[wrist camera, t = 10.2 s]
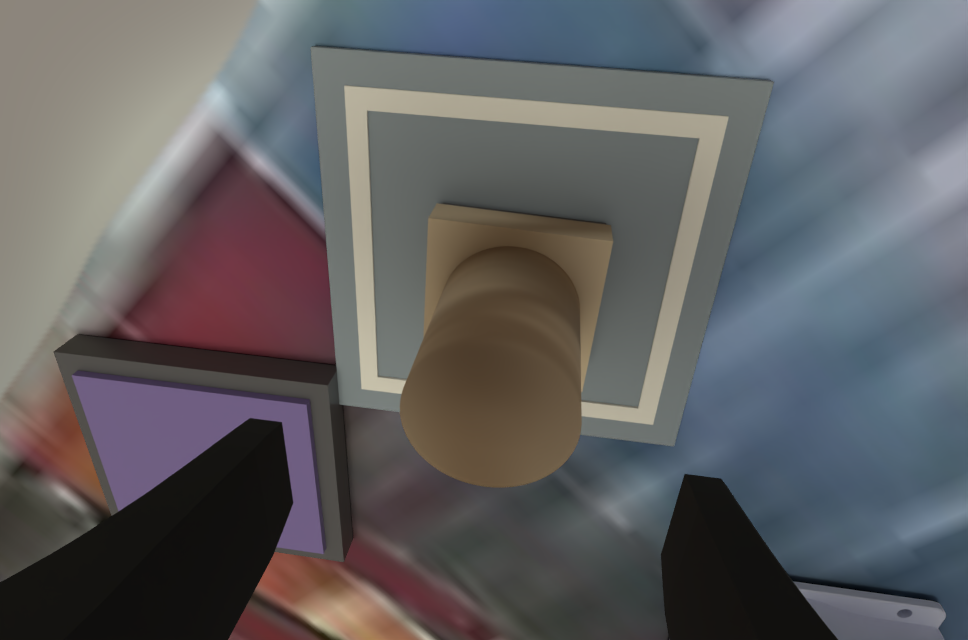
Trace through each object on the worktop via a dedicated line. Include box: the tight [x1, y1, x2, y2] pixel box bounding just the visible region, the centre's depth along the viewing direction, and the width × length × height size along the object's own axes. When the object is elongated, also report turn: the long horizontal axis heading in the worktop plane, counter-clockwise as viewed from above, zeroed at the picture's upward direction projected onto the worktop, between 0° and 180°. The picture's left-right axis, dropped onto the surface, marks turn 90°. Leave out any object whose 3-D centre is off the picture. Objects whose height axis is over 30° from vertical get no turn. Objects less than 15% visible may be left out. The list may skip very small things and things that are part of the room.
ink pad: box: [54, 334, 353, 562], centre depth 24 cm, size 10×9×2 cm
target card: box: [311, 46, 774, 446], centre depth 19 cm, size 12×12×1 cm
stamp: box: [400, 203, 613, 487], centre depth 16 cm, size 5×5×7 cm
